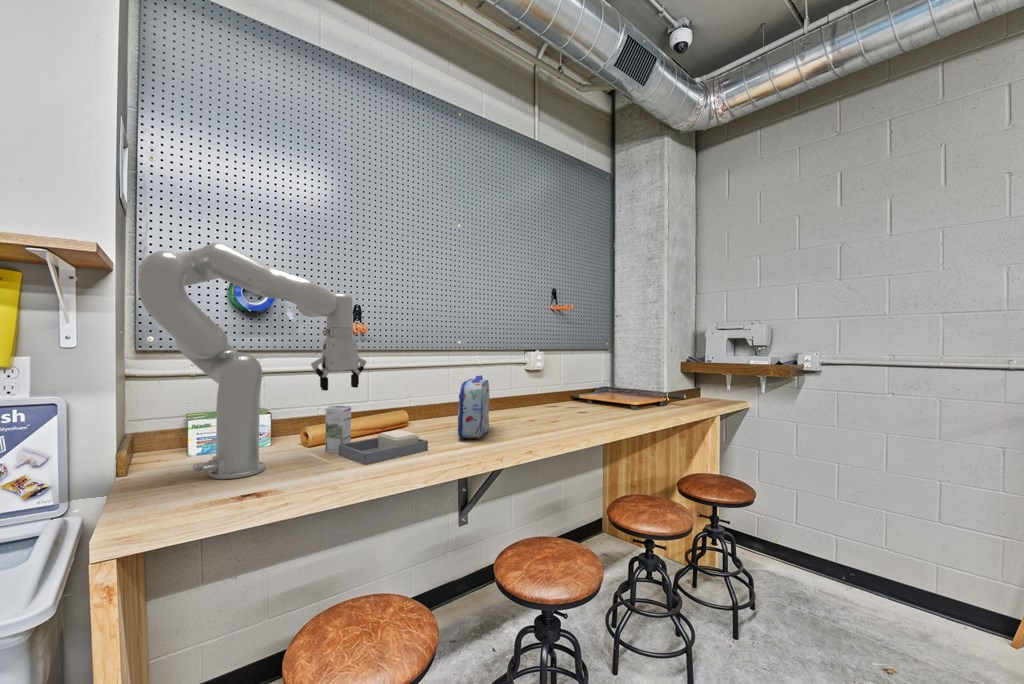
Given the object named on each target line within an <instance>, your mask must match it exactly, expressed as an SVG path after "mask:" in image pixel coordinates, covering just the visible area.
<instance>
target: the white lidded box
mask: <svg viewBox="0 0 1024 684" xmlns="http://www.w3.org/2000/svg"><path fill="white" fill-rule="evenodd" d="M377 438H378V449H380V450H384V449H389V448H393V447H398V446H403V445H407V444H412V443H417V442H418V441H419V439H420V438H419V435H418V434H417V433H414V432H411V431H406V430H403V429H397V430H396V429H395V430H391V431H385V432H380V433H379V434H378V435H377Z"/></svg>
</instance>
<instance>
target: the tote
mask: <svg viewBox="0 0 1024 684" xmlns="http://www.w3.org/2000/svg"><path fill="white" fill-rule="evenodd" d="M428 445H429V440H426V439H422V438H419V441H418V442H417V443H412V444H407V445H403V446H398V447H393V448H389V449H384V450H380V449H378V437H373V438H369V439H363V440H361V439H360V440H356V441H351V443H345V444H340V445H339V453H338V455H339V456H340V457H344V458H345V459H348V460H351V461H354V462H357V463H360V464H361V465H364V466H367V465H371V464H375V463H380V462H384V461H390V460H392V459H393V460H395V459H397V458H403V457H407V456H410V455H415V454H419V453H423V452H426V451H428V449H429V446H428Z"/></svg>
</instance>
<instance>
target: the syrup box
mask: <svg viewBox="0 0 1024 684" xmlns="http://www.w3.org/2000/svg"><path fill="white" fill-rule="evenodd" d="M351 436H352V406H351V405H331V406H329V407H326V408H325V437H324V438H325V439H324V440H325V442H324V443H325V453H338V454H339V445H340V444H345V443H351V442H352V440H351V439H352V438H351Z"/></svg>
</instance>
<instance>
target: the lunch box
mask: <svg viewBox="0 0 1024 684" xmlns="http://www.w3.org/2000/svg"><path fill="white" fill-rule="evenodd" d="M489 383H490V382H489V380H488V379H484V378H483V374H482V375H481V374H480V375H476V376H475V377H474V378H469V379H467V380H465V381H464V382H462V383H461V385H460V389H459V390H460V391H459V394H458V410H457V435H458V437H459V438H464V439H465V438H466V439H480V438H482V437H483V436H485V435H486V434H487V432H488V429H489V426H490V422H489V421H490V419H489V418H490V415H489V413H490V384H489Z"/></svg>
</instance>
